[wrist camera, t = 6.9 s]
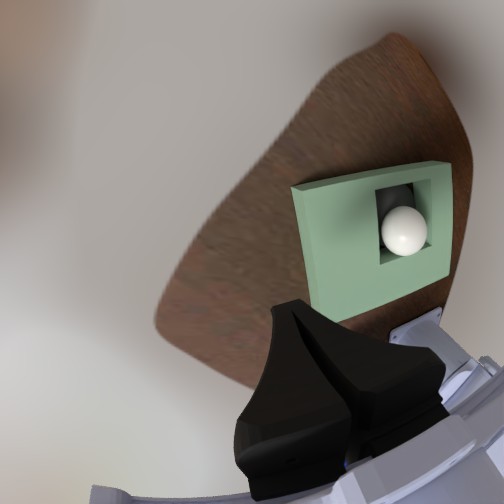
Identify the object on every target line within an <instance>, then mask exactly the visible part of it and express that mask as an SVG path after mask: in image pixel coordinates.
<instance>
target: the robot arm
mask: <svg viewBox="0 0 504 504" xmlns="http://www.w3.org/2000/svg"><path fill="white" fill-rule="evenodd" d="M271 313H272V317H273V328H272V339H271V345H270V350H269V355H268V359H267V362H266V365H265V368H264V371H263V374H262V376H261V379H260V381H259V384H258V386H257V388H256V390H255V391H254V394H253V396H252V397H251V399H250V401H249V403H248V404H247V406H246V407H245V409H244V410H243V412H242V413H241V415H240V416H239V418H238V419H237V423H236V428H235V435H234V455H235V462H236V464H237V466H238V467H239V469H240V470H241V471H242V472H243V473H244V474H245V476H246V477H247V478H248V482H249V488H250V492H247V493H240V494H233V495H224V496H215V497H214V496H213V497H198V498H152V497H150V498H149V497H137V496H131V495H130V494H128V493H127V492H125V491H123V490H120V489H117V488H112V487H105V486H99V485H92V489H91V495H90V502H89V504H504V366H503V367H502V368H501V367H500V366H499V365H498V364H497V363H496V362H495V361H493V360H492V359H491V358H490V357H489V356H484V357H483V356H482V357H480V359H479V362H480V363H481V364H482V365H484V367H483V366H482V365H480V363H478V362H477V361H476V360H475V359H474V358H473V357H471V356H470V355H469V354H468V353H467V352H466V351H465V350H464V349H463V348H462V347H461V346H460V345H459V344H458V343H456V342H455V341H454V340H453V339H452V338H451V337H450V336H449V335H448V334H447V333H446V332H445V331H443V330H442V329H441V328H440V327H439V323H440V318H441V313H442V308H441V307H438V308H436V309H434V310H432V311H430V312H428V313H426V314H424V315H422V316H420V317H418V318H416V319H414V320H412V321H410V322H408V323H406V324H404V325H402V326H400V327H398V328H395V329H393V330H392V331H391V332H390V338H389V342H385V341H381V340H377V339H374V338H370V337H367V336H364V335H362V334H359V333H357V332H354V331H352V330H349V329H347V328H345V327H343V326H341V325H339V324H337V323H336V322H334V321H332V320H330V319H329V318H327V317H326V316H324V315H322V314H321V313H319V312H318V311H316V310H315V309H313V308H312V307H311V306H309V305H308V304H306V303H305V302H304V301H302V300H301V299H296V300H293V301H290V302H286V303H283V304H279V305H276V306H273V307H272V308H271ZM345 462H346V465H347V466H344V464H345Z"/></svg>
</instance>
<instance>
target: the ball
mask: <svg viewBox="0 0 504 504" xmlns="http://www.w3.org/2000/svg"><path fill="white" fill-rule="evenodd" d="M381 234H382V239H383V241H384V243H385V245H386V246H387V248H388V249H389V250H390V251H391V252H393V253H395V254H397V255H400V256H409V255H413V254H415V253H416V252H418V251H419V250H420V249H421V248H422V247H423V245H424V243H425V241H426V238H427V225H426V222H425V220H424V218H423V216H422V215H421V214H420V213H419V212H418V211H417V210H415V209H413V208H411V207H407V206H400V207H396V208H394V209H392V210H391V211H390V212H388V214H387V215H386V216H385V218H384V220H383V222H382V227H381Z"/></svg>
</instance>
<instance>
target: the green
mask: <svg viewBox="0 0 504 504" xmlns="http://www.w3.org/2000/svg"><path fill="white" fill-rule="evenodd" d="M410 182H413V189H414V196H413V194H412V192H411V191H410V189H409V188H408V187H407V186H406V185H405V183H410ZM291 190H292V195H293V200H294V205H295V210H296V215H297V220H298V226H299V231H300V237H301V243H302V248H303V254H304V260H305V266H306V273H307V279H308V286H309V292H310V299H311V306H312V308H313V309H315V310H316V311H318V312H319V313H321V314H322V315H324V316H326V317H327V318H329V319H330V320H332V321H334V322H339V321H342V320H345V319H347V318H350V317H353V316H355V315H358V314H361V313H363V312H366V311H368V310H371V309H374V308H376V307H379V306H381V305H383V304H386V303H388V302H391V301H393V300H395V299H398V298H400V297H402V296H405V295H407V294H409V293H412V292H414V291H416V290H418V289H420V288H423V287H425V286H427V285H429V284H431V283H433V282H435V281H437V280H439V279H442V278H444V277H446V276H448V275H449V269H450V259H451V246H452V227H453V192H452V172H451V163H446V162H439V161H426V162H419V163H412V164H406V165H399V166H393V167H387V168H381V169H376V170H370V171H364V172H359V173H354V174H349V175H343V176H338V177H334V178H329V179H324V180H319V181H314V182H310V183H305V184H301V185H296V186H292V187H291ZM400 206H407V207H411V208H413V209H415V210H417V211H418V212H419V213H420V214H421V215H422V216H423V218H424V220H425V222H426V225H427V238H426V241H425V243H424V245H423V247H422V248H421V249H420V250H419V251H418V252H416V253H415V254H413V255H409V256H400V255H397V254H395V253H393V252H391V251H390V250H389V249H388V248H387V247H385V248H382V249H379V245H381V246H386V245H385V243H384V241H383V239H382V234H381V227H382V222H383V220H384V218H385V216H386V215H387V214H388V212H390V211H391V210H392V209H394V208H396V207H400Z"/></svg>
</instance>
